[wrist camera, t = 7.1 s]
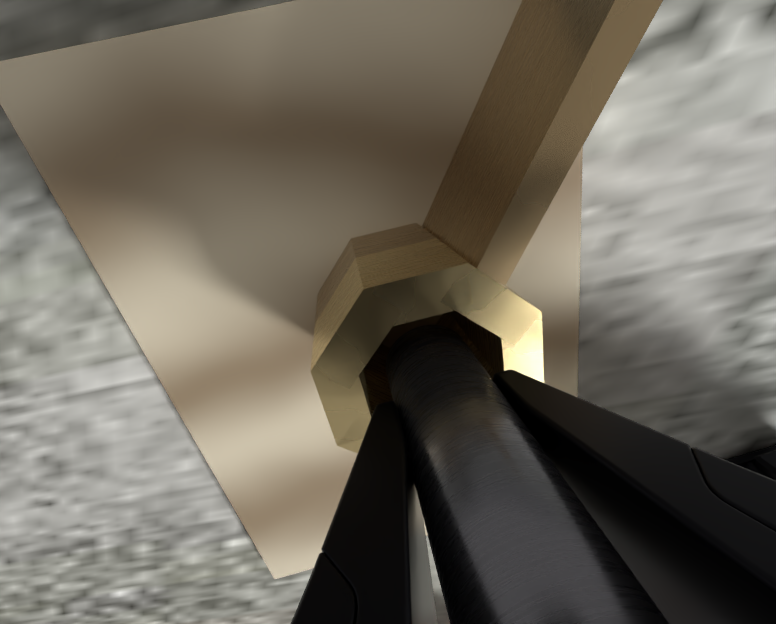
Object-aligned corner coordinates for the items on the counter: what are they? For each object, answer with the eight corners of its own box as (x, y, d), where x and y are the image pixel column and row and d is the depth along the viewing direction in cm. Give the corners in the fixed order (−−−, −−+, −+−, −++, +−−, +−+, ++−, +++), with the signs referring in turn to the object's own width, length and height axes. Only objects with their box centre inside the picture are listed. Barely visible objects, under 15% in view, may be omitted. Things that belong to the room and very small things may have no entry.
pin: (472, 386, 10) (877, 1041, 3) (394, 407, 10) (585, 1153, 2) (463, 315, 9) (1051, 1018, 2) (377, 337, 9) (598, 1200, 2)
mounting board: (566, 480, 20) (575, 493, 19) (277, 562, 19) (274, 579, 18) (569, -45, 10) (586, -60, 10) (4, 72, 10) (-23, 65, 9)
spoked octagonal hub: (566, 439, 17) (651, 541, 13) (379, 491, 17) (398, 616, 12) (568, -56, 10) (778, -244, 5) (230, 14, 9) (132, -126, 5)
